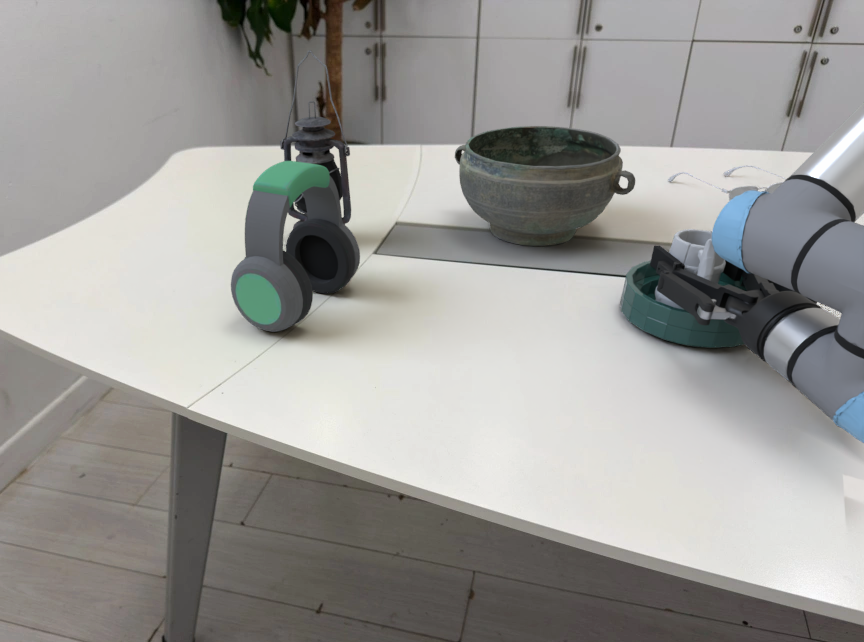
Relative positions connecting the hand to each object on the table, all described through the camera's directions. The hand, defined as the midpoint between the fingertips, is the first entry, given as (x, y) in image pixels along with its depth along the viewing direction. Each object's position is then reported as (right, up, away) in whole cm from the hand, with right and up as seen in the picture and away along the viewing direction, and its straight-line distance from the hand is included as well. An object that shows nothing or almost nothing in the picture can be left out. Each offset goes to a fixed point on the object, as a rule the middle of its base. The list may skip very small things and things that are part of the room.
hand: (683, 253), depth 90 cm
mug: (0, -8, 0) cm, 8 cm away
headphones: (-52, -7, +6) cm, 52 cm away
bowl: (-13, +9, +28) cm, 32 cm away
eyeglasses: (+29, +20, +43) cm, 56 cm away
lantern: (-50, +7, +26) cm, 57 cm away
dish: (+1, -9, 0) cm, 9 cm away
